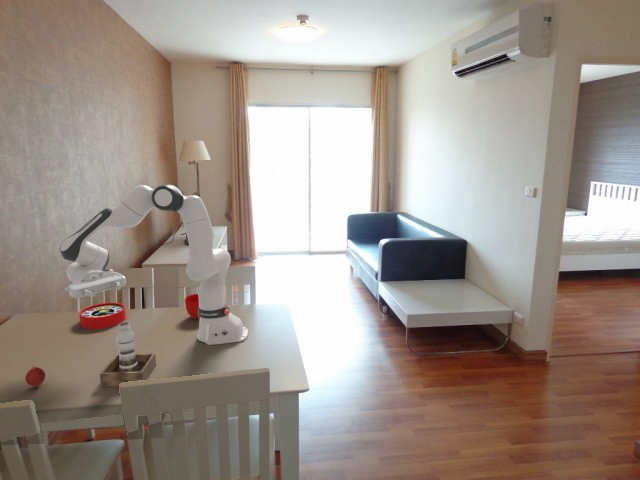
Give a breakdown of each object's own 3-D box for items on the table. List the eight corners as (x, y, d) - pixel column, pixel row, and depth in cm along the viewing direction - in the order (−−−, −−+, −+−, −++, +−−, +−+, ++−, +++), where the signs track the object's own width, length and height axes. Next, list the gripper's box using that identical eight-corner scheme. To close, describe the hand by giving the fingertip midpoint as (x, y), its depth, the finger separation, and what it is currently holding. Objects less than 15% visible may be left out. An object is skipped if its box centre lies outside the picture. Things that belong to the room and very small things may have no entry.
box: (156, 365, 165) (155, 353, 164) (143, 385, 151) (142, 372, 150) (117, 366, 164) (116, 354, 163) (101, 386, 150) (99, 374, 148)
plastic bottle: (133, 379, 154) (128, 328, 150) (115, 378, 154) (110, 327, 150) (142, 370, 160) (137, 321, 156) (125, 369, 161) (120, 320, 156)
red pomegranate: (33, 382, 152) (30, 362, 151) (50, 381, 153) (47, 361, 151) (23, 391, 147) (20, 370, 145) (41, 390, 147) (37, 369, 145)
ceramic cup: (222, 311, 219) (221, 293, 217) (200, 323, 204) (199, 304, 202) (202, 307, 224) (201, 289, 222) (180, 319, 209) (178, 300, 207)
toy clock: (103, 300, 219) (134, 305, 212) (104, 311, 220) (135, 316, 213) (69, 314, 201) (101, 320, 194) (70, 326, 202) (103, 332, 195)
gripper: (61, 280, 161) (76, 291, 153) (115, 268, 176) (131, 277, 168) (63, 295, 163) (78, 307, 155) (116, 282, 178) (132, 291, 170)
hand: (106, 291), depth 161 cm, fingers open, 8 cm apart
